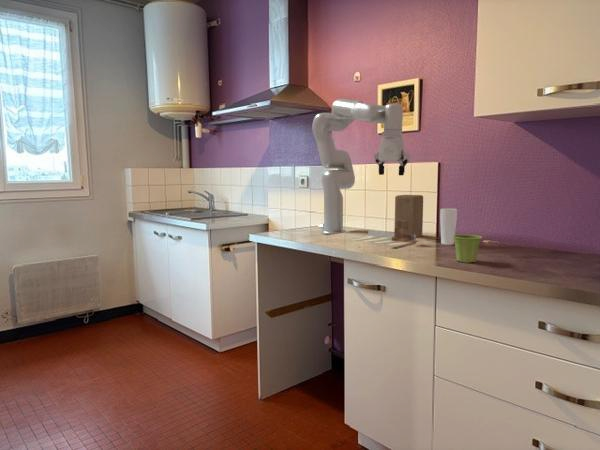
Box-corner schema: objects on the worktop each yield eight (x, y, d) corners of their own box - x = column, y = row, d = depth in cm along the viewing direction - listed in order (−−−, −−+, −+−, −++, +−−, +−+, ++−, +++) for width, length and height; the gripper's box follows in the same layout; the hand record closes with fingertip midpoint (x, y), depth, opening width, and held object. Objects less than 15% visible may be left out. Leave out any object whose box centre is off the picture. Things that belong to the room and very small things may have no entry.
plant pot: (452, 257, 156) (453, 233, 155) (480, 259, 153) (481, 235, 152) (450, 263, 147) (451, 237, 146) (481, 265, 144) (482, 238, 143)
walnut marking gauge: (391, 240, 187) (392, 220, 186) (397, 239, 190) (398, 219, 189) (404, 241, 183) (404, 221, 182) (410, 240, 186) (410, 220, 185)
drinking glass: (458, 245, 182) (459, 209, 180) (442, 245, 182) (443, 209, 180) (452, 243, 189) (453, 208, 187) (436, 243, 189) (438, 208, 187)
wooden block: (414, 241, 194) (415, 196, 192) (393, 239, 200) (394, 195, 198) (423, 238, 202) (424, 195, 200) (402, 236, 208) (403, 194, 206)
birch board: (349, 243, 190) (349, 233, 190) (370, 238, 202) (370, 230, 202) (396, 248, 175) (396, 239, 174) (415, 244, 187) (415, 234, 186)
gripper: (370, 134, 189) (369, 174, 191) (406, 133, 177) (404, 175, 180) (380, 135, 194) (378, 174, 197) (415, 134, 183) (413, 175, 185)
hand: (391, 175), depth 188 cm, fingers open, 9 cm apart
